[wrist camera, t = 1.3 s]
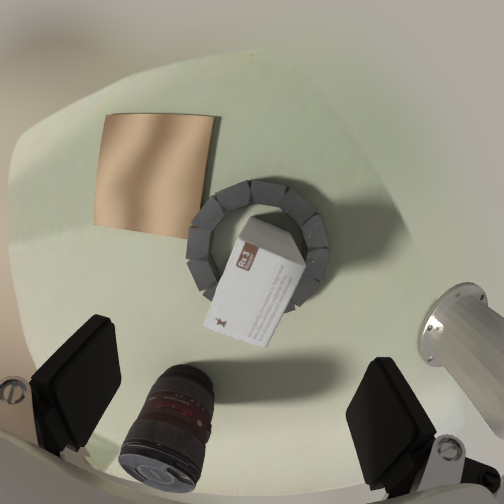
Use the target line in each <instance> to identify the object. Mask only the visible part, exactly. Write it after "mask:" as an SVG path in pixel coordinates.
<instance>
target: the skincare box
mask: <svg viewBox="0 0 504 504" xmlns="http://www.w3.org/2000/svg"><path fill="white" fill-rule="evenodd" d="M305 268H306V264H305V262H304V259H303V257H302V256H301V254H300V252H299V250H298V248H297V246H296V244H295V242H294V240H293V238H292V236H291V234H290V232H288V231H285V230H283V229H281V228H278V227H276V226H274V225H271V224H269V223H267V222H265V221H262V220H260V219H258V218H256V217H253V216H251V217H250V218H249V220H248V221H247V223H246V225H245V226H244V228H243V229H242V231H241V233H240V234H239V236H238V238H237V241H236V243H235V245H234V248H233V250H232V253H231V255H230V258H229V260H228V263H227V265H226V268H225V270H224V273H223V275H222V277H221V279H220V281H219V283H218V286H217V288H216V292H215V295H214V298H213V300H212V303H211V305H210V308H209V311H208V313H207V316H206V319H205V321H204V326H205V327H206V328H209V329H211V330H214V331H216V332H219V333H221V334H224V335H227V336H230V337H232V338H235V339H238V340H241V341H243V342H246V343H249V344H252V345H256V346H259V347H263V348H266V347H267V345H268V343H269V341H270V339H271V337H272V335H273V333H274V331H275V329H276V327H277V325H278V323H279V321H280V319H281V317H282V315H283V313H284V311H285V309H286V307H287V305H288V303H289V301H290V299H291V297H292V295H293V293H294V291H295V289H296V286H297V284H298V282H299V280H300V278H301V276H302V274H303V271H304V269H305Z"/></svg>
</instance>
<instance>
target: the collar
mask: <svg viewBox="0 0 504 504" xmlns="http://www.w3.org/2000/svg"><path fill="white" fill-rule="evenodd" d="M285 190H286V185H281V184H276V183H270V182H263V181H257V180H252V183H251V187H250V185H249V182H248V180H246V181H244V182H241V183H238V184H236V185H233V186H231V187H228V188H226V189H223V190H221V191H218V192H216V193H215V195H216V196H215V195H213V196H210V198H209V199H208V200H207V202H206V203H205V204H204V205H203V207H202V208H201V209H200V211H199V212H198V213H197V215H196V216H195V217H194V219H193V220H192V222H191V223H192V224H193V225H192V226H190V227H189V232H188V242H187V252H186V259H190V260H189V261H188V262H187V265H188V267H189V269H190V272H191V274H192V276H193V278H194V280H195V283H196V285H197V287H198V289H199V291H202V290H205V291H204V293H203V296H205V297H206V298H207V299H209V300H210V301H211V302H212V300H213V298H214V295H215V292H216V288H217V286H218V283H219V281H220V279H221V277H222V276H221V275H220V273H219V271H218V269H217V267H216V264H215V262H214V260H213V257H212V255H211V248H212V239H213V231H214V229H215V227H216V226H217V225H218V224H219V222H220V221H221V220H222V218H223V217H224V216H225V215H226V213H227V212H229V211H232V210H234V209H237V208H240V207H242V206H245V205H247V204H250V203H256V204H262V205H269V206H275V207H279V208H281V209H282V210H283V211H284V212H285V213H287V214H288V215H289V216H290V217H291V218H293V219H294V220H295V221H296V222H297V223H298V225H299V228H300V231H301V233H302V236H303V239H304V242H305V248H304V253H303V259H304V262H305V264H306V268H305V269H304V271H303V274H302V276H301V278H300V280H299V282H298V284H297V286H296V289H295V291H294V293H293V295H292V297H291V299H290V301H289V303H288V305H287V307H286V309H285V311H284V313H287V312H290V311H293V310H295V305H294V303H295V304H296V305H298V306H299V307H300V306H301V305H302V304H303V303H304V302H305V301H306V300H307V299H308V298H309V297H310V295H311V294H312V293H313V292H314V291H315V290H316V289H317V288H318V287H319V286H320V283H319V281H318V280H323V278H324V274H325V269H326V265H327V261H328V257H329V252H330V249H329V248H328V247H327V246H328V245H330V244H329V241H328V238H327V234H326V231H325V228H324V225H323V222H322V219H321V216H320V214H319V213H317V212H316V210H317V209H316V208H314V207H313V206H312V205H311V204H310V203H309V202H307V201H306V200H305V199H304V198H303V197H302V196H300V195H299V194H298V193H297V192H296V191H295V190H293V189H292V188H290V187H289V188H288V189H287V190H286V191H285ZM284 313H283V314H284Z"/></svg>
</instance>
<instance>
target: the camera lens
mask: <svg viewBox="0 0 504 504" xmlns="http://www.w3.org/2000/svg"><path fill="white" fill-rule="evenodd" d="M214 399H215V396H214V392H213V385H212V382H211V380H210V379H209V377H208V376H207V375H206V374H205V373H203V372H202V371H200V370H198V369H197V368H194V367H191V366H187V365H176V366H172V367H170V368H168V369H167V370H166V371H165V372H164V374H162V375H161V376H160V377H159V378H158V379H157V381H156V382H155V384H154V385H153V386H152V388H151V390H150V392H149V394H148V396H147V399H146V401H145V404H144V406H143V408H142V410H141V412H140V414H139V416H138V418H137V419H136V421H135V422H134V423H133V425H132V426H131V428H130V430H129V432H128V434H127V436H126V438H125V440H124V442H123V444H122V446H121V452H120V455H119V458H118V461H119V463H120V465H121V467H122V468H123V469H124V470H125V471H126V472H127V473H128V474H129V475H131V476H132V477H133V478H135V479H136V480H138V481H140V482H142V483H144V484H146V485H148V486H150V487H153V488H155V489H159V490H162V491H166V492H173V493H187V492H191V491H193V490H194V489H195V486H196V483H197V481H198V480H199V479H200V476H201V472H202V467H203V462H204V457H205V448H206V446H205V444H206V443H207V442H208V440H209V438H210V435H211V427H212V425H211V420H212V416H213V411H214Z"/></svg>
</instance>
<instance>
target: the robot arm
mask: <svg viewBox="0 0 504 504" xmlns="http://www.w3.org/2000/svg"><path fill="white" fill-rule="evenodd" d="M418 350H419V353H420V355H421V357H422V359H423V360H424V361H425V362H426V363H427V364H428V365H430V366H434V367H442V366H444V367H445V368H446V370H447V371H448V372H449V373H450V375H451V376H452V377H453V378H454V380H455V381H456V382H457V384H458V385H459V386H460V387H461V389H462V390H463V391H464V392H465V394H466V395H467V396H468V398H469V399H470V400H471V402H472V403H473V405H474V406H475V407H476V409H477V410H478V412H479V413H480V414H481V416H482V417H483V418H484V420H485V421H486V423H487V424H488V425H489V427H490V428H491V429H492V431H493V432H494V433H495V435H497V436H498V437H499V438H501V439H504V318H503V317H502V316H500V315H499V314H498V313H496V312H495V311H493V310H492V309H491V308H489V307H488V303H487V297H486V294H485V292H484V291H483V289H481V288H480V287H479V286H478V285H476V284H474V283H470V282H466V283H461V284H458V285H456V286H454V287H452V288H450V289H449V290H448V291H446V292H445V293H444V294H443V295H442V296H441V297H440V298H439V299H438V300H437V301H436V302H435V304H434V305H433V306H432V308H431V309H430V311H429V312H428V314H427V316H426V318H425V320H424V322H423V324H422V326H421V330H420V333H419V339H418ZM31 379H32V380H31V381H30V382H29V383H28V382H27V381H26V380H25V379H23V378H21V377H19V376H9V377H5V378H3V379H2V380H0V504H189V503H184V502H179V501H174V500H171V499H166V498H162V497H159V496H155V495H151V494H148V493H145V492H141V491H138V490H134V489H132V488H129V487H126V486H123V485H120V484H118V483H115V482H112V481H109V480H107V479H105V478H102V477H100V476H97V475H95V474H93V473H90V472H88V471H86V470H83V469H81V468H79V467H77V466H75V465H73V464H71V463H69V462H67V461H65V459H64V455H63V450H64V448H65V447H67V448H69V449H71V450H73V451H75V452H78V450H79V448H80V447H84V446H85V445H86V444H87V442H88V440H89V438H90V436H91V435H92V433H93V431H94V429H95V428H96V426H97V424H98V422H99V421H100V419H101V417H102V415H103V414H104V412H105V410H106V408H107V407H108V405H109V403H110V402H111V400H112V398H113V397H114V395H115V393H116V392H117V390H118V388H119V386H120V384H121V372H120V365H119V358H118V351H117V343H116V334H115V325H114V323H111V320H110V318H108V317H104V316H101V315H97V314H95V315H93V316H92V317H91V318H90V319H89V320H88V321H87V322H86V323H85V324H84V325H83V326H82V327H80V328H79V329H78V330H77V331H76V332H75V333H74V334H73V335H72V336H71V337H70V338H69V339H68V340H67V341H66V342H65V343H64V344H63V345H62V346H61V347H60V348H59V349H58V350H57V351H56V352H55V353H54V354H53V355H52V356H51V357H50V358H49V359H48V360H47V361H46V362H45V363H44V364H43V365H42V366H41V367H40V368H39V369H38V370H37V371H36V372H35V374H34V375H33V376H32V377H31ZM346 420H347V423H348V426H349V429H350V432H351V436H352V439H353V442H354V446H355V449H356V452H357V456H358V459H359V463H360V466H361V470H362V473H363V477H364V480H365V483H366V484H369V486H370V490H371V491H372V490H377V489H382V488H384V487H385V490H386V493H385V495H384V497H383V498H382V500H381V501H378V502H373V503H368V504H504V475H503V476H502V477H501V478H500V475H499V473H498V471H497V470H496V469H495V468H493V467H491V466H488V465H485V464H482V463H480V462H477V461H475V460H472V459H469V458H467V457H465V455H466V451H465V447H464V444H463V443H462V442H461V441H460V440H459V439H458V438H457V437H455V436H453V435H448V434H447V435H441V436H439V437H437V438H436V439H435V437H434V435H435V434H436V432H437V431H436V429H435V428H434V426H433V424H432V422H431V421H430V419H429V417H428V415H427V414H426V412H425V410H424V409H423V407H422V405H421V404H420V402H419V400H418V399H417V397H416V396H415V394H414V392H413V391H412V389H411V387H410V386H409V384H408V383H407V381H406V379H405V378H404V376H403V375H402V373H401V372H400V370H399V368H398V367H397V365H396V364H395V362H394V361H393V359H392V358H390V357H377V358H375V359H374V361H371V362H370V364H369V366H368V368H367V370H366V372H365V374H364V377H363V379H362V381H361V383H360V385H359V387H358V389H357V391H356V393H355V395H354V397H353V399H352V401H351V402H350V404H349V406H348V408H347V410H346Z"/></svg>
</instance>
